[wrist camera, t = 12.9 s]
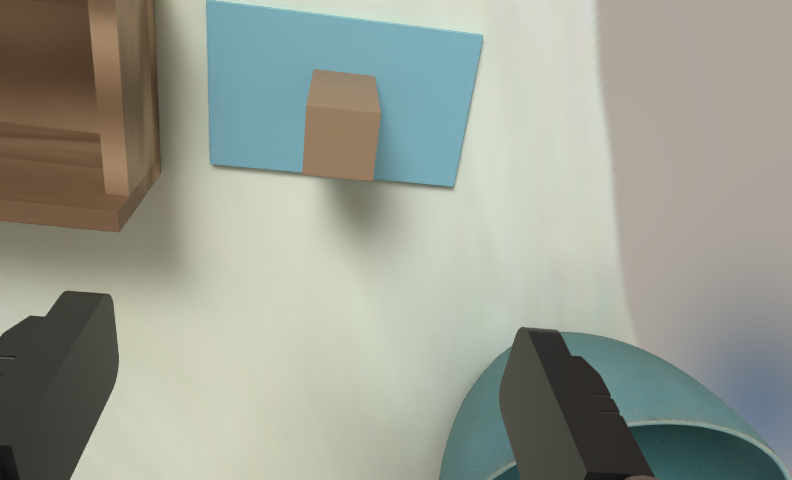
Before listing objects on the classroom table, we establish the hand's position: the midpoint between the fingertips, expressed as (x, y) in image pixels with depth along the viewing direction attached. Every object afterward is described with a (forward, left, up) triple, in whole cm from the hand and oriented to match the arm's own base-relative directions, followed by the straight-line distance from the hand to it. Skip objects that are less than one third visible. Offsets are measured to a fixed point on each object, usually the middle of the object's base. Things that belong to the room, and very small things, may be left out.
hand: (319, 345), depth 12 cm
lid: (+1, 0, -21) cm, 21 cm away
